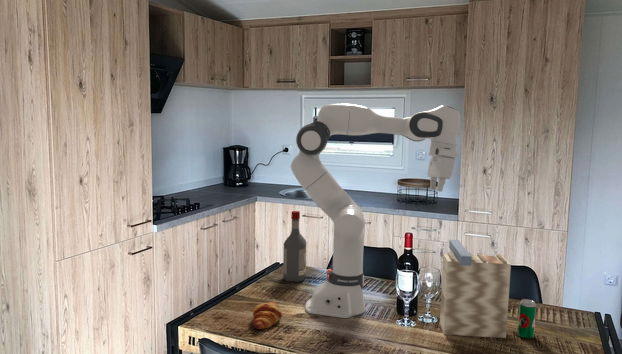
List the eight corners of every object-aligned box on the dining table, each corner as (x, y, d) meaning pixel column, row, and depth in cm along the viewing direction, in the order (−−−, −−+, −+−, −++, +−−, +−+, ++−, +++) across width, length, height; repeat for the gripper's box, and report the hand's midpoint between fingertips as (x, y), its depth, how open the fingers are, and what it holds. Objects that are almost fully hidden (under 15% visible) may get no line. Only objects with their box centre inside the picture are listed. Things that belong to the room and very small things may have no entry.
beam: (460, 265, 159) (461, 256, 159) (449, 247, 181) (449, 239, 181) (471, 265, 159) (471, 256, 159) (458, 248, 181) (458, 240, 180)
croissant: (268, 317, 186) (258, 298, 186) (291, 307, 184) (281, 288, 184) (250, 341, 166) (239, 319, 166) (276, 330, 163) (265, 308, 163)
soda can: (535, 340, 163) (538, 304, 162) (519, 338, 164) (521, 303, 163) (531, 333, 168) (534, 299, 167) (515, 332, 169) (518, 298, 168)
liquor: (282, 281, 217) (283, 213, 214) (286, 274, 226) (287, 209, 223) (302, 282, 216) (304, 214, 212) (306, 276, 225) (307, 210, 221)
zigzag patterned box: (443, 334, 167) (447, 258, 164) (439, 323, 175) (443, 251, 172) (505, 338, 165) (511, 261, 162) (498, 326, 173) (503, 254, 170)
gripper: (426, 151, 188) (420, 187, 189) (440, 150, 168) (433, 190, 168) (443, 154, 188) (437, 190, 189) (459, 153, 168) (452, 193, 168)
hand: (435, 190), depth 178 cm, fingers open, 8 cm apart
